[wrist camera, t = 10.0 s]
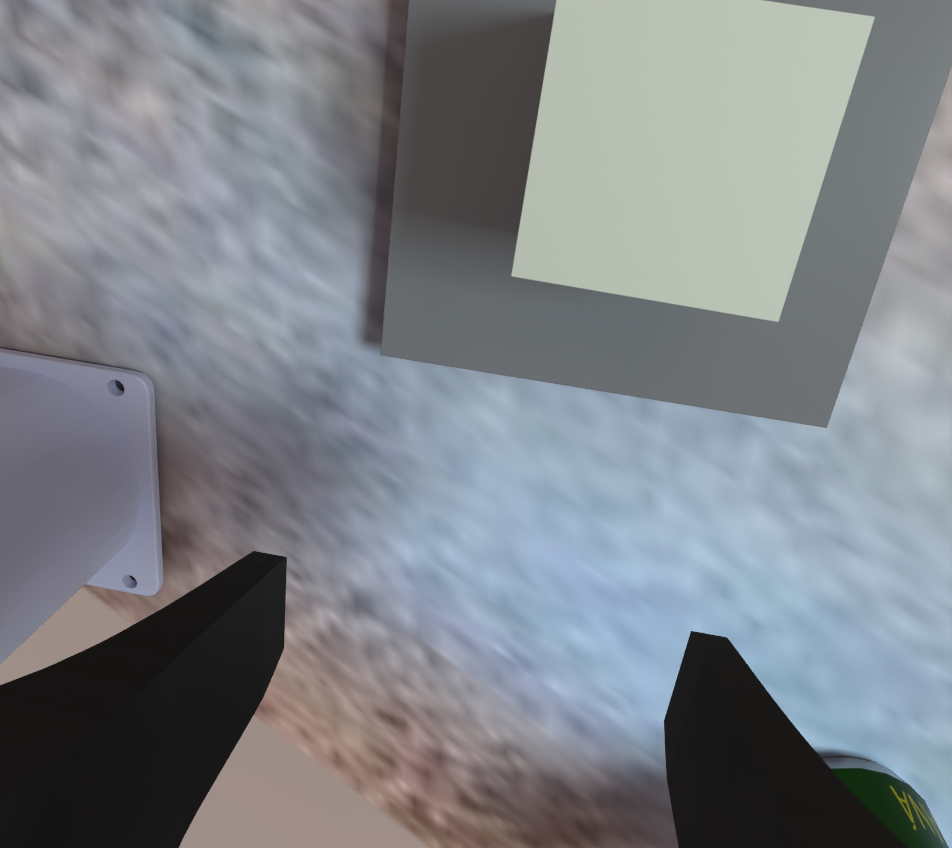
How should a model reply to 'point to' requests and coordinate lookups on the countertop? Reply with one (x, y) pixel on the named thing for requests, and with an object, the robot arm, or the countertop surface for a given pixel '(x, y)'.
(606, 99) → the cube
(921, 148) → the slate tile
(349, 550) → the countertop surface
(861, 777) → the beer can
